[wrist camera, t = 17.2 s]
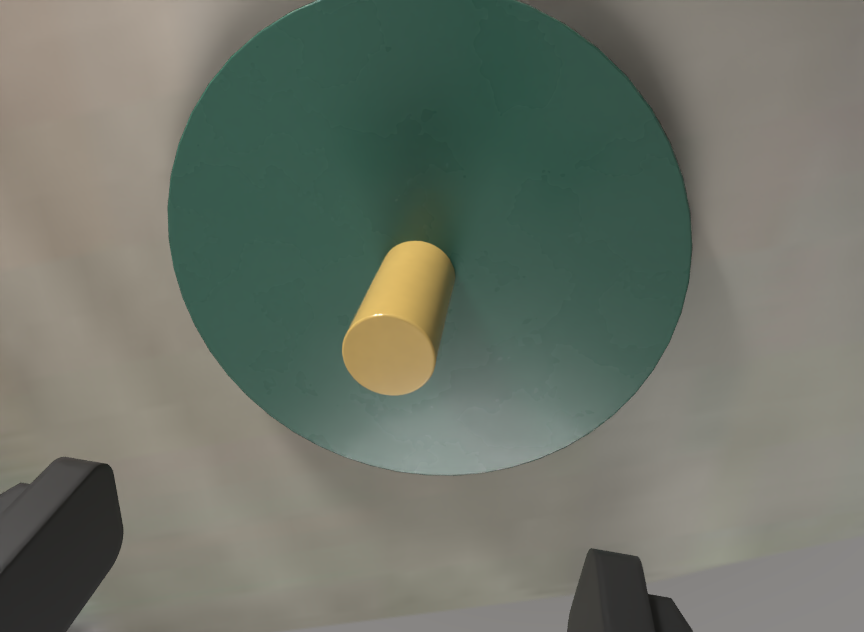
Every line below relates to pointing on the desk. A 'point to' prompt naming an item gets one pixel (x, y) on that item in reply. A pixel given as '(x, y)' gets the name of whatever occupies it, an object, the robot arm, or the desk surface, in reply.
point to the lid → (430, 231)
